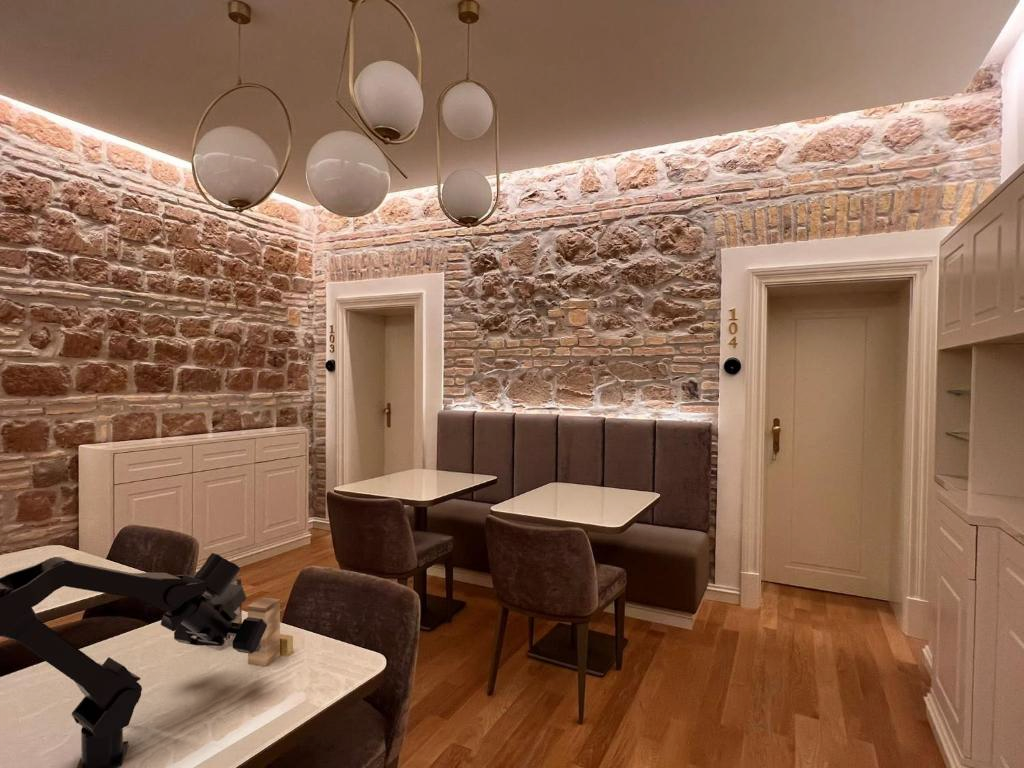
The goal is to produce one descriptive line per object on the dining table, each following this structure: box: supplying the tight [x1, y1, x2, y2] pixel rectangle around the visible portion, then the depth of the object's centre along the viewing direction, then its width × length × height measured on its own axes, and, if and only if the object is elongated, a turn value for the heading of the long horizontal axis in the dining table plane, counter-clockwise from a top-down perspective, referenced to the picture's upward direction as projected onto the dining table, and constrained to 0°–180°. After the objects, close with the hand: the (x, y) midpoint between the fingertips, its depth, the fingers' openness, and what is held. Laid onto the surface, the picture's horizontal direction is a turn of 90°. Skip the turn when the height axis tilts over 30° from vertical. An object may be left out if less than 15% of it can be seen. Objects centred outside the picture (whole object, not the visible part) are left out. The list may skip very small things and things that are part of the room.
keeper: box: [246, 596, 281, 667], centre depth 128 cm, size 5×5×13 cm
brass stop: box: [280, 633, 294, 657], centre depth 132 cm, size 2×8×4 cm, turn 75°
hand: (241, 646), depth 121 cm, fingers open, 9 cm apart
